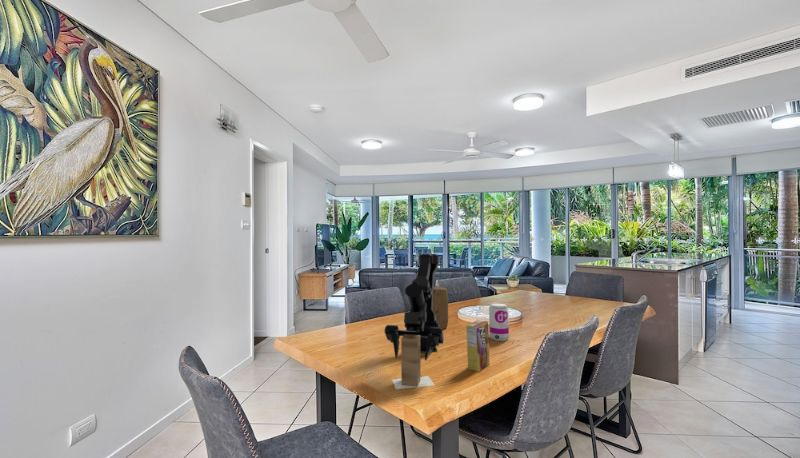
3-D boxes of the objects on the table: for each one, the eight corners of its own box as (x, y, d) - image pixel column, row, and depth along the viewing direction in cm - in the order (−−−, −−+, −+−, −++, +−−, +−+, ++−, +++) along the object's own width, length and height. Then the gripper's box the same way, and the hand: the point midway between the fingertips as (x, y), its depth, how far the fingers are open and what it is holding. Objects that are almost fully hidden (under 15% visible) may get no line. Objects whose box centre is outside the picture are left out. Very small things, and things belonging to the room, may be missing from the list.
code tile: (428, 377, 112) (428, 376, 112) (434, 386, 105) (434, 385, 105) (391, 380, 109) (391, 379, 109) (395, 389, 103) (395, 388, 103)
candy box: (478, 362, 125) (478, 319, 125) (489, 364, 122) (489, 321, 123) (466, 369, 118) (466, 324, 119) (478, 372, 116) (477, 326, 116)
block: (449, 329, 169) (449, 288, 170) (435, 330, 168) (434, 289, 168) (441, 324, 180) (440, 285, 180) (427, 325, 178) (427, 286, 178)
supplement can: (511, 341, 149) (510, 306, 150) (492, 341, 149) (491, 306, 150) (505, 336, 157) (505, 302, 158) (487, 336, 157) (487, 303, 158)
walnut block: (405, 378, 110) (404, 334, 110) (420, 379, 109) (420, 335, 109) (401, 385, 105) (401, 338, 106) (417, 386, 104) (417, 339, 104)
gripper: (385, 300, 114) (376, 343, 103) (442, 302, 110) (438, 348, 99) (391, 318, 122) (383, 361, 111) (445, 321, 118) (441, 365, 107)
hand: (410, 358), depth 107 cm, fingers open, 9 cm apart
